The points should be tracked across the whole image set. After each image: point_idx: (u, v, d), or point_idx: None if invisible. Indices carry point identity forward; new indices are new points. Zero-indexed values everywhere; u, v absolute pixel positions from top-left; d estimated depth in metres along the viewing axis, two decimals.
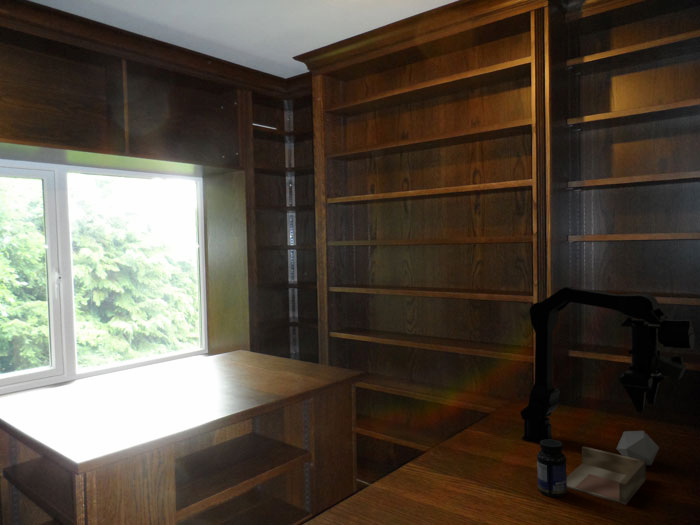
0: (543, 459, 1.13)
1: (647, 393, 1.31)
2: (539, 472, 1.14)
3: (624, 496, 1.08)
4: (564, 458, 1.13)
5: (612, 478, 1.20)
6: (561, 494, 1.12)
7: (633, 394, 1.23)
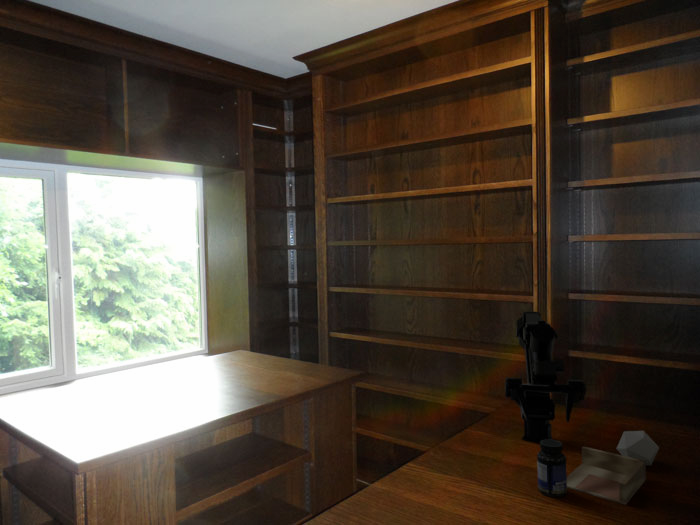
0: (543, 459, 1.13)
1: (566, 413, 1.24)
2: (539, 472, 1.14)
3: (624, 496, 1.08)
4: (564, 458, 1.13)
5: (612, 478, 1.20)
6: (561, 494, 1.12)
7: (520, 404, 1.28)
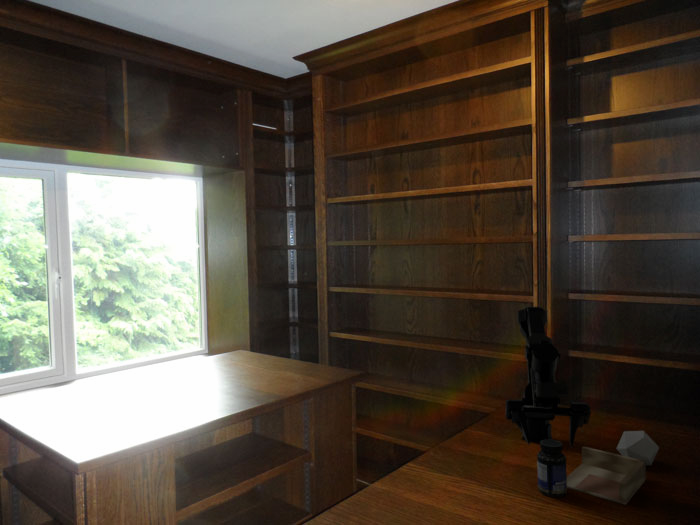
0: (543, 459, 1.13)
1: (569, 437, 1.18)
2: (539, 472, 1.14)
3: (624, 496, 1.08)
4: (564, 458, 1.13)
5: (612, 478, 1.20)
6: (561, 494, 1.12)
7: (521, 427, 1.22)
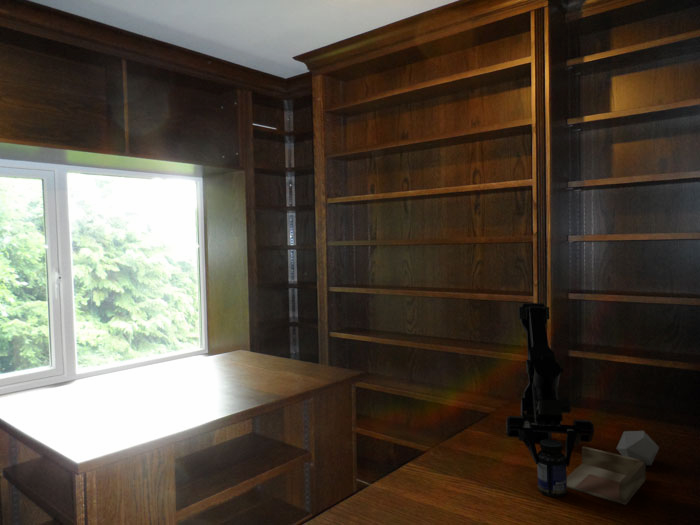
0: (543, 459, 1.13)
1: None
2: (539, 472, 1.14)
3: (624, 496, 1.08)
4: (564, 458, 1.13)
5: (612, 478, 1.20)
6: (561, 493, 1.12)
7: (529, 445, 1.18)
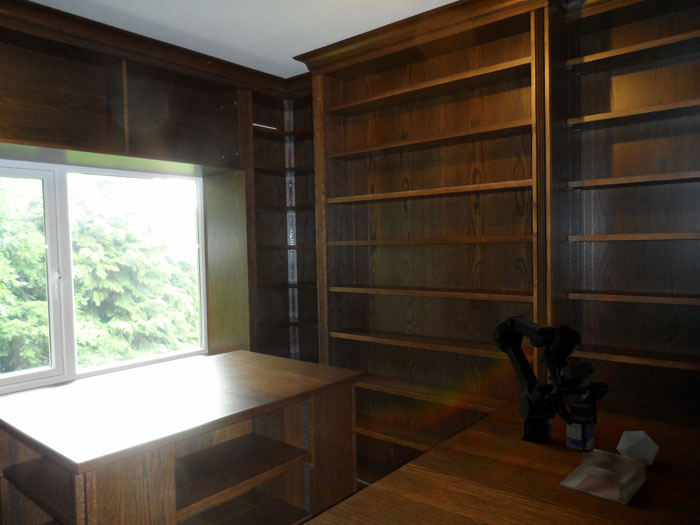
0: (577, 420, 1.22)
1: None
2: (572, 432, 1.23)
3: (624, 496, 1.08)
4: (592, 416, 1.24)
5: (612, 478, 1.20)
6: (592, 449, 1.23)
7: (557, 409, 1.27)
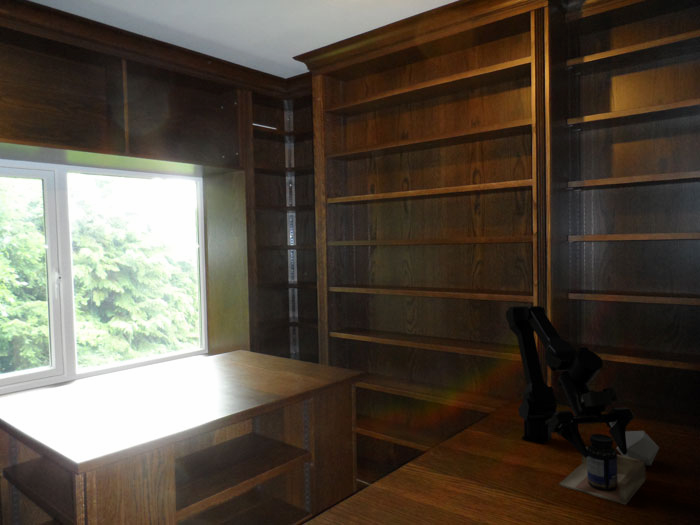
0: (599, 455, 1.14)
1: (618, 444, 1.17)
2: (593, 468, 1.14)
3: (624, 496, 1.08)
4: (615, 451, 1.15)
5: None
6: (616, 486, 1.14)
7: (571, 439, 1.18)
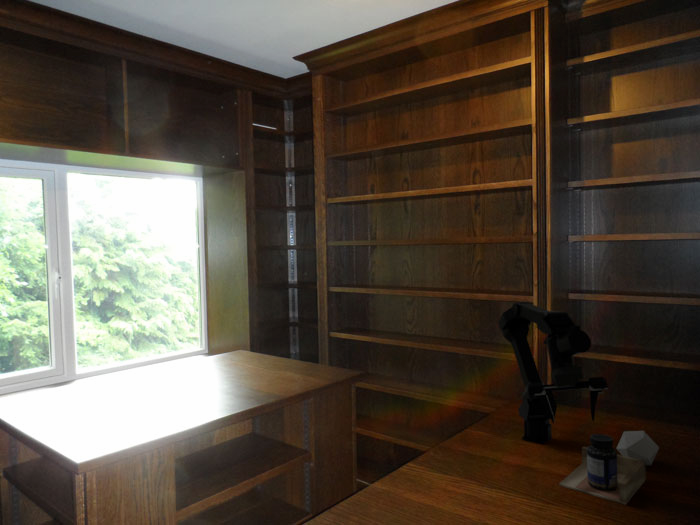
0: (599, 455, 1.14)
1: None
2: (593, 468, 1.14)
3: (624, 496, 1.08)
4: (615, 451, 1.15)
5: None
6: (616, 486, 1.14)
7: None
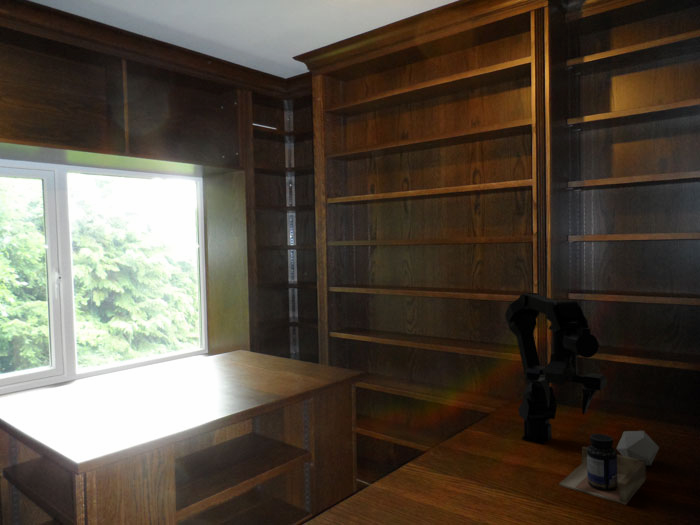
0: (599, 455, 1.14)
1: None
2: (593, 468, 1.14)
3: (624, 496, 1.08)
4: (615, 451, 1.15)
5: None
6: (616, 486, 1.14)
7: None
